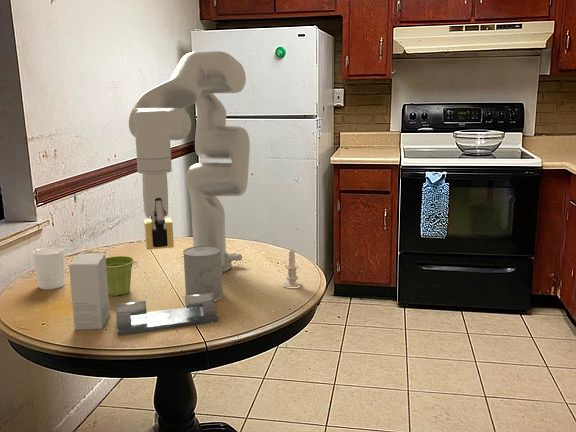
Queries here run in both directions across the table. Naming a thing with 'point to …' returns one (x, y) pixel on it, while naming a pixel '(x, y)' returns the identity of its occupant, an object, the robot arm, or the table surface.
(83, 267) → the skincare box
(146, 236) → the coupler
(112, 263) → the plant pot
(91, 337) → the table surface
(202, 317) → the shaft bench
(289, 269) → the candle
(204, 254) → the grey can
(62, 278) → the white cup
